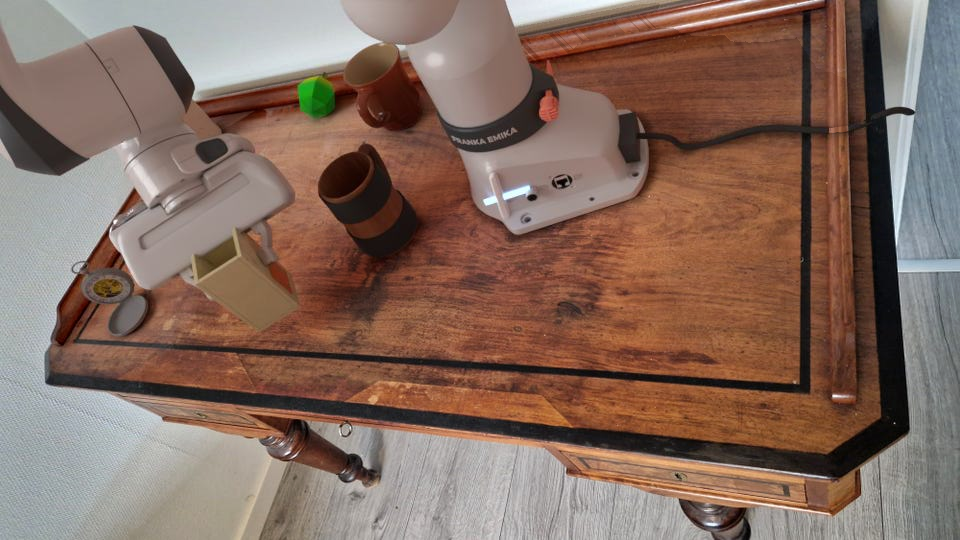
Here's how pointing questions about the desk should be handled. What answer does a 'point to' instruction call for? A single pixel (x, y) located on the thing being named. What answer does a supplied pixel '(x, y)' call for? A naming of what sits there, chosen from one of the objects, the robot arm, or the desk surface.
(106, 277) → the pocket watch
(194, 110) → the teacup with lid
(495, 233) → the desk surface
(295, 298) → the bin
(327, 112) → the apple
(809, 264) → the desk surface
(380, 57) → the mug
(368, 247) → the mug
